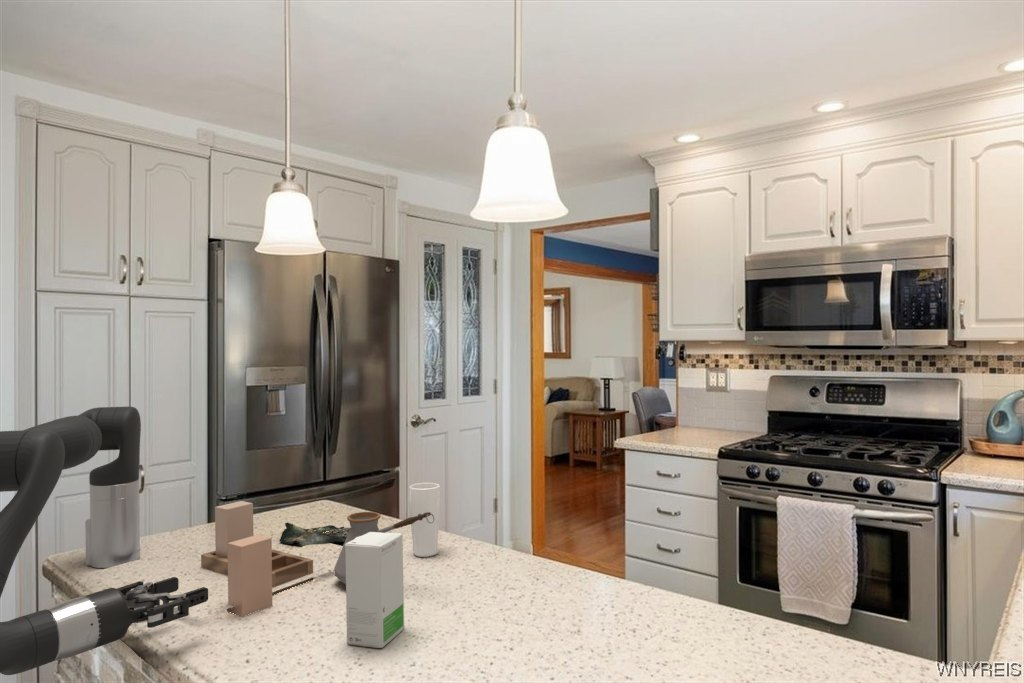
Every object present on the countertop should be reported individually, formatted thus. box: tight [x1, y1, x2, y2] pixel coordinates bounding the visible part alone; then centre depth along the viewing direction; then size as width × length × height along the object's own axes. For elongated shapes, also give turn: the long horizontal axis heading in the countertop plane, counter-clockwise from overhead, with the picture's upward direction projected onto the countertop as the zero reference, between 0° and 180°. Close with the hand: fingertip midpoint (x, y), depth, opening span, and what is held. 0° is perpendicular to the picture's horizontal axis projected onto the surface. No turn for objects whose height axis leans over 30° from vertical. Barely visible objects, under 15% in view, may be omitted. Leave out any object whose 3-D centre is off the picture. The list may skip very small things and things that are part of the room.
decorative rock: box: [279, 522, 351, 548], centre depth 158 cm, size 19×6×15 cm
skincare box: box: [345, 532, 405, 649], centre depth 107 cm, size 8×7×16 cm
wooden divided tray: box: [200, 549, 314, 596], centre depth 134 cm, size 22×10×4 cm, turn 56°
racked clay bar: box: [214, 500, 254, 559], centre depth 138 cm, size 4×6×12 cm, turn 146°
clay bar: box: [227, 534, 273, 617], centre depth 119 cm, size 4×6×12 cm, turn 146°
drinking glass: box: [408, 482, 441, 558], centre depth 148 cm, size 7×7×15 cm
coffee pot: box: [333, 511, 434, 586], centre depth 129 cm, size 21×12×15 cm, turn 65°
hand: (191, 588), depth 110 cm, fingers open, 8 cm apart
